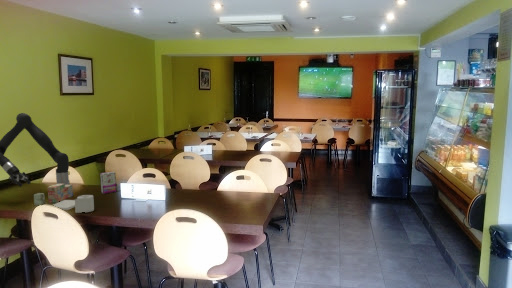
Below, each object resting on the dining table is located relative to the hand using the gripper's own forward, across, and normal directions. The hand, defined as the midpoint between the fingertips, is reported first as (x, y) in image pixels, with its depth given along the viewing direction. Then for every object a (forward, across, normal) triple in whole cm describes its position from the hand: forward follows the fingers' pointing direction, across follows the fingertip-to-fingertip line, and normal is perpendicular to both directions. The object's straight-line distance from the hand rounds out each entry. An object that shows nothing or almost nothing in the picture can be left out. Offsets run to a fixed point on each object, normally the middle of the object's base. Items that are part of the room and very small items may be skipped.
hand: (25, 184), depth 312 cm
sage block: (+18, 0, +3) cm, 18 cm away
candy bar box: (+40, +43, -19) cm, 62 cm away
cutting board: (+33, 0, -13) cm, 36 cm away
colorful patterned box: (+22, +17, -1) cm, 28 cm away
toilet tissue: (+49, -10, -28) cm, 57 cm away
